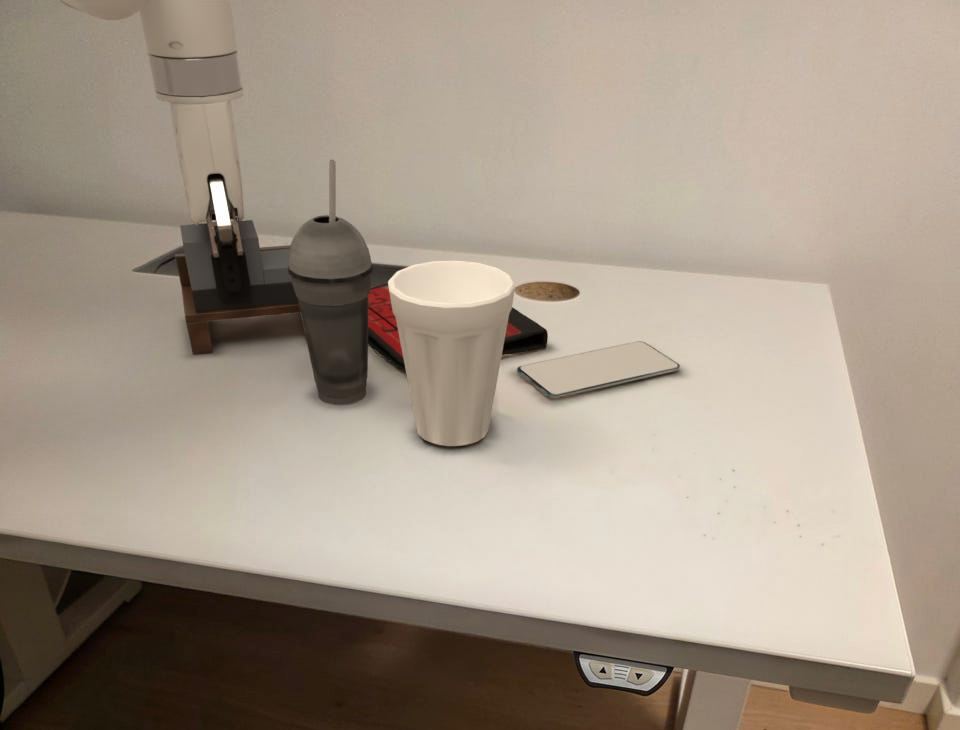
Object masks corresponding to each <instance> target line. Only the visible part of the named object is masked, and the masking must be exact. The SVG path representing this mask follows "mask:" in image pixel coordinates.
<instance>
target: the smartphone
mask: <svg viewBox="0 0 960 730" xmlns="http://www.w3.org/2000/svg"><path fill="white" fill-rule="evenodd" d="M680 367H681V365H680V364H679V363H678V362H676V361H674V360H673V359H672V358H670V357H669V356H667V355H666V354H664V353H662V352H660V351H659V350H658V349H656V348H654V347H653V346H652V345H650V344H648V343H646V342H644V341H640V340H639V341H633V342H629V343H623V344H618V345H614V346H609V347H605V348H599V349H595V350H590V351H585V352H580V353H576V354H571V355H566V356H562V357H557V358H552V359H547V360H543V361H537V362H533V363H528V364H524V365H523V364H522V365H519V366H518V367H517V368H516V371H517V372H516V373H518V374H519V375H520V376H521V377H522V378H523V379H525V380H526V381H528V382H529V383H530V384H531V385H532V386H533V387H535V388H536V389H537V390H538V391H540V392H541V393H542V394H543V395H544V396H546V397H547V398H550V399H559V398H564V397H568V396H573V395H576V394H582V393H587V392H590V391H595V390H599V389H604V388H607V387H612V386H616V385H621V384H625V383H630V382H635V381H639V380H643V379H647V378H652V377H657V376H661V375H666V374H669V373H673V372H677V371H679V369H680Z"/></svg>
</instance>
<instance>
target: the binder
mask: <svg viewBox="0 0 960 730" xmlns="http://www.w3.org/2000/svg"><path fill="white" fill-rule="evenodd" d="M548 339H549V333H548V330H547V328H545V327H543V326H542V325H540V324H539V323H538V322H536V321H535V320H533V319H531V318H530V317H528V316H526V315H525V314H523V313H522V312H520V311H519V310H517V309H516V308H515V307H513V306H512V309H511V311H510V313H509V317H508V323H507V328H506V334H505V340H504V345H503V351H502V356H507V355H514V354H520V353H521V354H522V353H528V352H536V351H539V350H544V349H546V348H547V346H548V341H549V340H548ZM368 346H370V347H371V349H373V350H374V351H375V352H377V353H378V354H379V355H380V356H381V357H383V358H385V360H387V361H388V362H389V363H391V364H392V365H393V366H395V367H396V368H398V369H399V370H401V371H404V372H406V369H405V364H404V358H403V353H402V348H401V343H400V337H399V332H398V327H397V322H396V317H395V315H394V313H393V310H392V305H391V299H390V292H389V286H388V282H387V283H384V284H380V285H375V286H371V288H370V292H369V315H368Z"/></svg>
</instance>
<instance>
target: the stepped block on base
mask: <svg viewBox="0 0 960 730" xmlns="http://www.w3.org/2000/svg"><path fill="white" fill-rule="evenodd" d="M238 227H239V233H240V238H241V244H242V250H243V253H244V252H245V255H246V261H247V268H248V274H249V281H250V287H251V295H250V296H248V297H239V298H228V299H220V298H219V297H218V293H217V288H216V282H215V277H214V271H213V266H212V260H211V255H213V250H212V245H211V239H210V234H209V228H208V226H207V222H206V223H205V222H204V223H199V225H198V226H197V225H195V224H194V223H191V224H180V226H179V228H180V235H181V241H182V242H181V243H182V248H183V252H184V253H185V258H186V263H187V268H188V273H189V278H190V284H191V289H192V294H193V299H194V304H195V309H196V312H204V311H215V310H226V309H236V308H247V307H258V306H269V305H280V304H291V303H299V302H298V298H297V297H296V294H295V291H294V287H293V284H292V281H291V275H289V273H288V265H289V249H278V250H265V251H260V240H259V235H258V233H257V230H256V227H255V225H254V221H253V219H250V220H249V219H248V220H246V219H245V220H242V221H241V222H238ZM214 229H215V235H216V232H218V228H214ZM232 231H233V227H232ZM217 246H218V245H217ZM184 253H183V254H184Z"/></svg>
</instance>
